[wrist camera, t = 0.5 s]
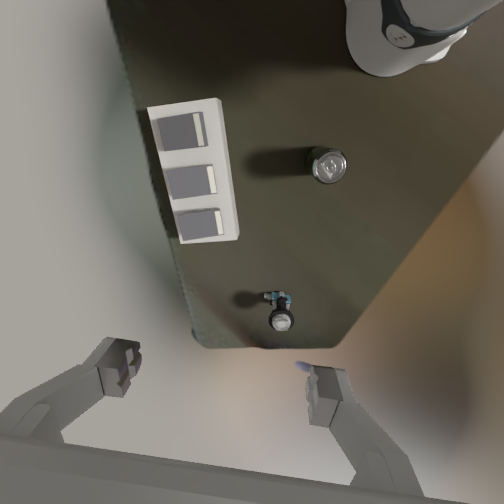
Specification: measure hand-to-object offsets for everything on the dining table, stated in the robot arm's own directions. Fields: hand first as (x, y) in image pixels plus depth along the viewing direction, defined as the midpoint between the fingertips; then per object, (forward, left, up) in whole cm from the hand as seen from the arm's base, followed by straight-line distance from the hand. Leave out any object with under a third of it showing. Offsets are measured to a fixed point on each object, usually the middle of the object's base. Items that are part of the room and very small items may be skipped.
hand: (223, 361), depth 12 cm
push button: (+20, +16, -43) cm, 50 cm away
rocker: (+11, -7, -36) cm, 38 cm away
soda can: (-10, +6, -43) cm, 44 cm away
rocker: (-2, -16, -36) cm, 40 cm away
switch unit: (+4, -12, -42) cm, 44 cm away
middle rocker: (+4, -12, -36) cm, 38 cm away
